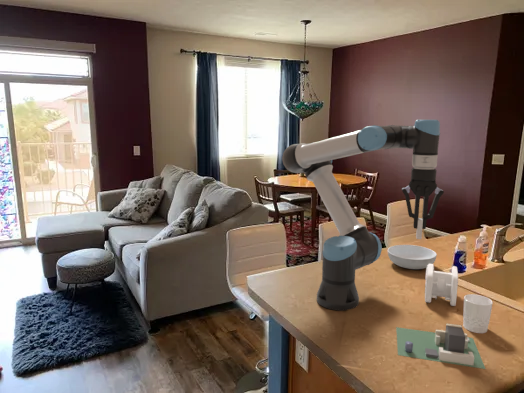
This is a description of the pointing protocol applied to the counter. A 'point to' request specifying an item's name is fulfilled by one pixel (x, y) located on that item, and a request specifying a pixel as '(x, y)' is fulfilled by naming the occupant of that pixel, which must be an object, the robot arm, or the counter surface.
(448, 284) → the cable organizer
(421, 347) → the board
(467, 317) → the white cup
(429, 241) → the counter surface
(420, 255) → the serving bowl
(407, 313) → the counter surface
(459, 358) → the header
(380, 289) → the counter surface
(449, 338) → the plug
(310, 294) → the counter surface
